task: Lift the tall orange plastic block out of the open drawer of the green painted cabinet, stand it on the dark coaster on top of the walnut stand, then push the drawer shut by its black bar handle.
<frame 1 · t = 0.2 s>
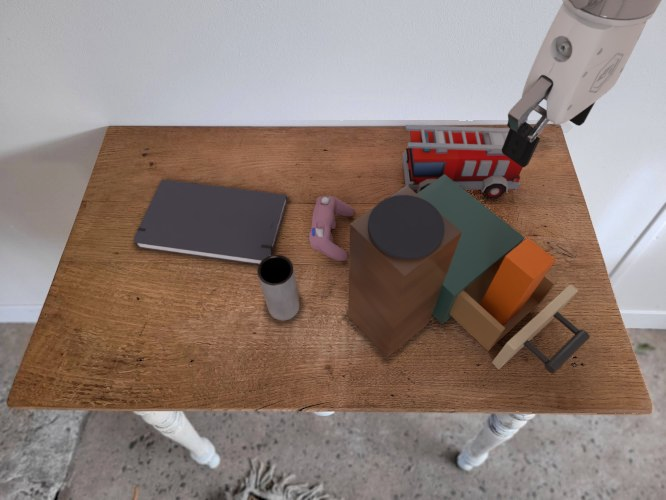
hand: (542, 138, 54), 23 cm above the table, tool pointing down, fingers open, 9 cm apart
video game controller: (332, 236, 75), on the table
block: (499, 308, 66), point 2 cm above the table, touching drawer
stand: (388, 319, 67), on the table
toy fire truck: (456, 179, 81), on the table
planter: (284, 306, 69), on the table
coaster: (405, 227, 49), resting on stand
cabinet: (438, 263, 72), on the table
notebook: (213, 224, 77), on the table
drawer: (510, 306, 63), point 4 cm above the table, slide at 8.0 cm, touching block
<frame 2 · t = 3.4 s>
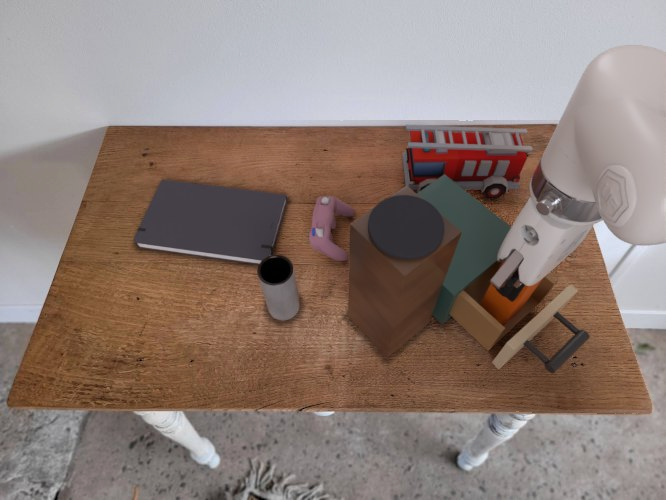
hand: (516, 280, 59), 10 cm above the table, tool pointing down, fingers closed on block, 4 cm apart
block: (499, 308, 66), point 2 cm above the table, touching drawer, gripper
everything else where it was.
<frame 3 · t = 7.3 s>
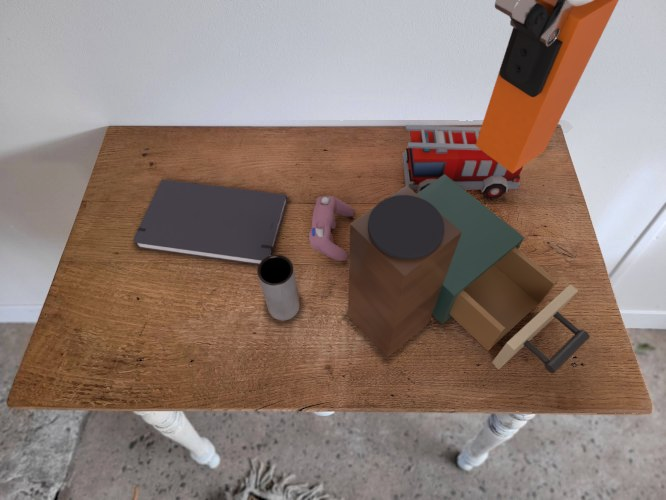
hand: (542, 68, 33), 40 cm above the table, tool pointing down, fingers closed on block, 4 cm apart
block: (509, 148, 40), point 33 cm above the table, touching gripper
drawer: (510, 306, 63), point 4 cm above the table, slide at 8.0 cm
everything else where it was.
when the fingers open (30 cm above the table, at t = 11.2 s): block stays where it is, resting on coaster.
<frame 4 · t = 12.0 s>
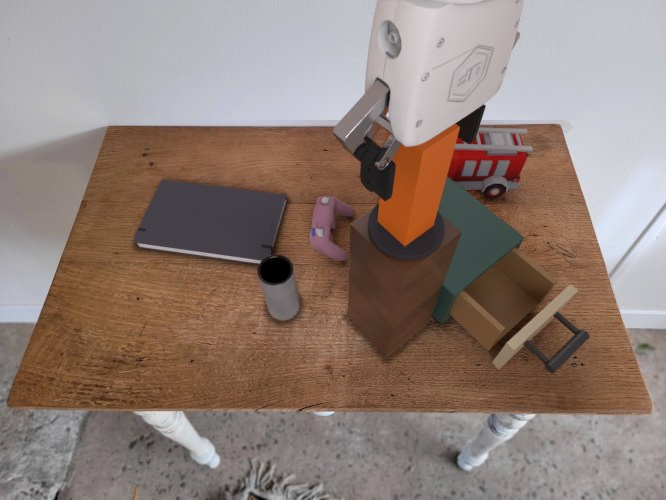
hand: (418, 160, 41), 32 cm above the table, tool pointing down, fingers open, 9 cm apart
block: (405, 223, 48), point 23 cm above the table, touching coaster
everything else where it was.
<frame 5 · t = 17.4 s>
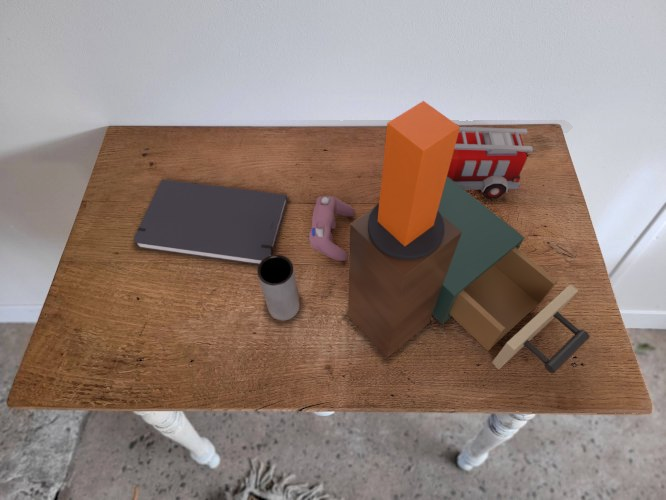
nothing on the table moved.
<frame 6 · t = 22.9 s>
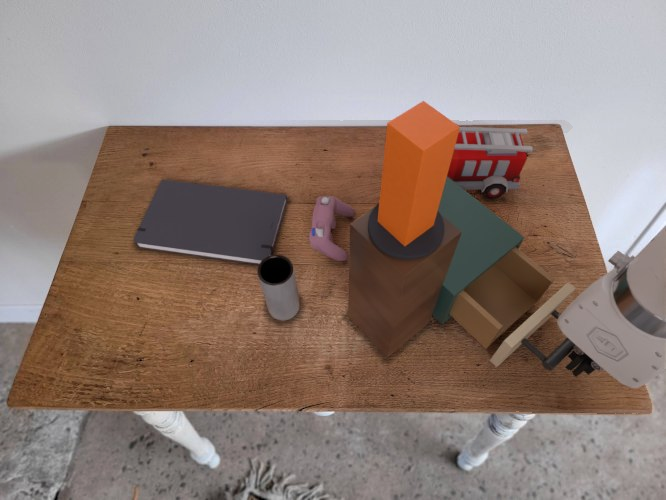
hand: (577, 364, 59), 4 cm above the table, tool pointing down, fingers closed
drawer: (508, 304, 64), point 4 cm above the table, slide at 7.6 cm, touching gripper
everything else where it was.
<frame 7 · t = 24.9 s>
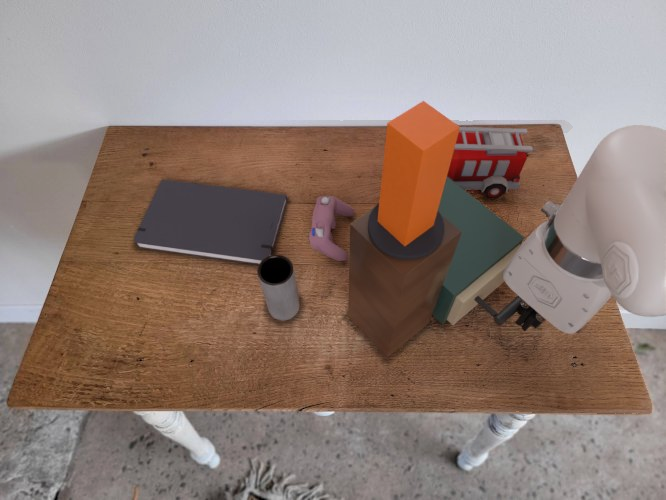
hand: (527, 320, 62), 4 cm above the table, tool pointing down, fingers closed
drawer: (465, 266, 67), point 4 cm above the table, slide at 0.0 cm, touching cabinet, gripper
everything else where it was.
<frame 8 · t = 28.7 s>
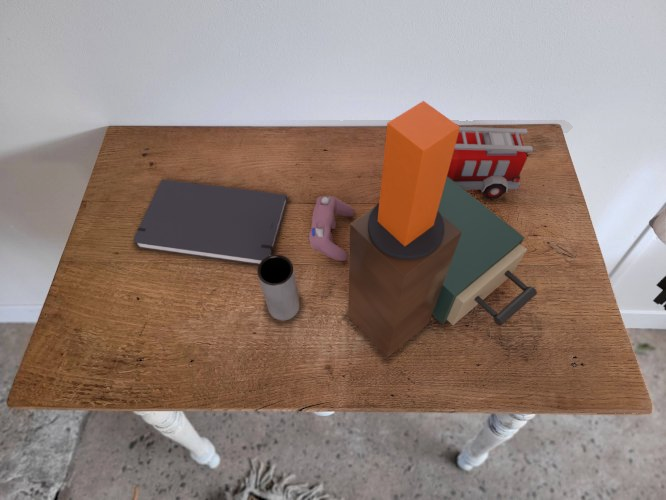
drawer: (465, 266, 67), point 4 cm above the table, slide at 0.0 cm
everything else where it was.
at the end: block 0.1 cm off-centre on the coaster, point 0.6 cm above the coaster's base; block tilted 0°; drawer slide at 0.0 cm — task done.
